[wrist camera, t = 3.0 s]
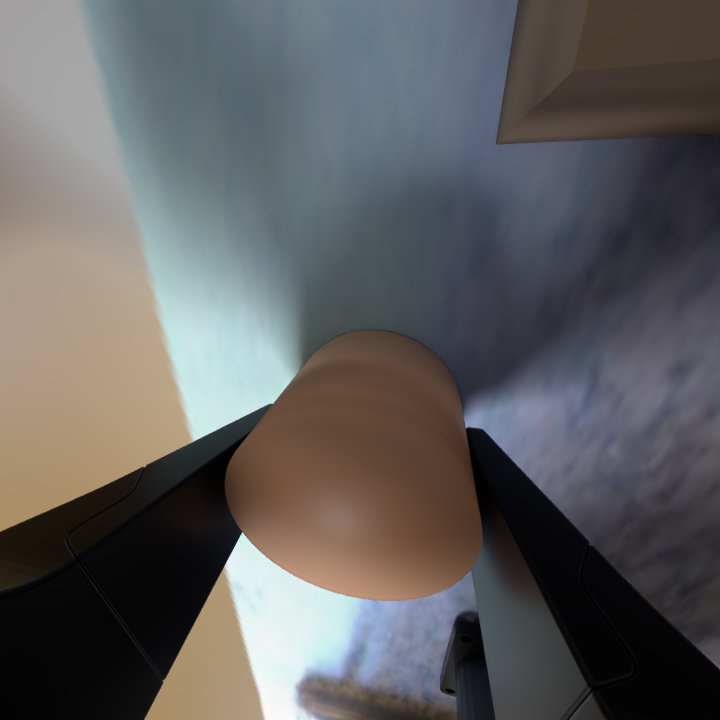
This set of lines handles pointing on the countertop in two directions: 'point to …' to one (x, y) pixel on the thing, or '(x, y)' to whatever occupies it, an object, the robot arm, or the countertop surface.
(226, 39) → the countertop surface
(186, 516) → the robot arm
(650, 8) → the tower base
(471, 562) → the brown short cylinder
